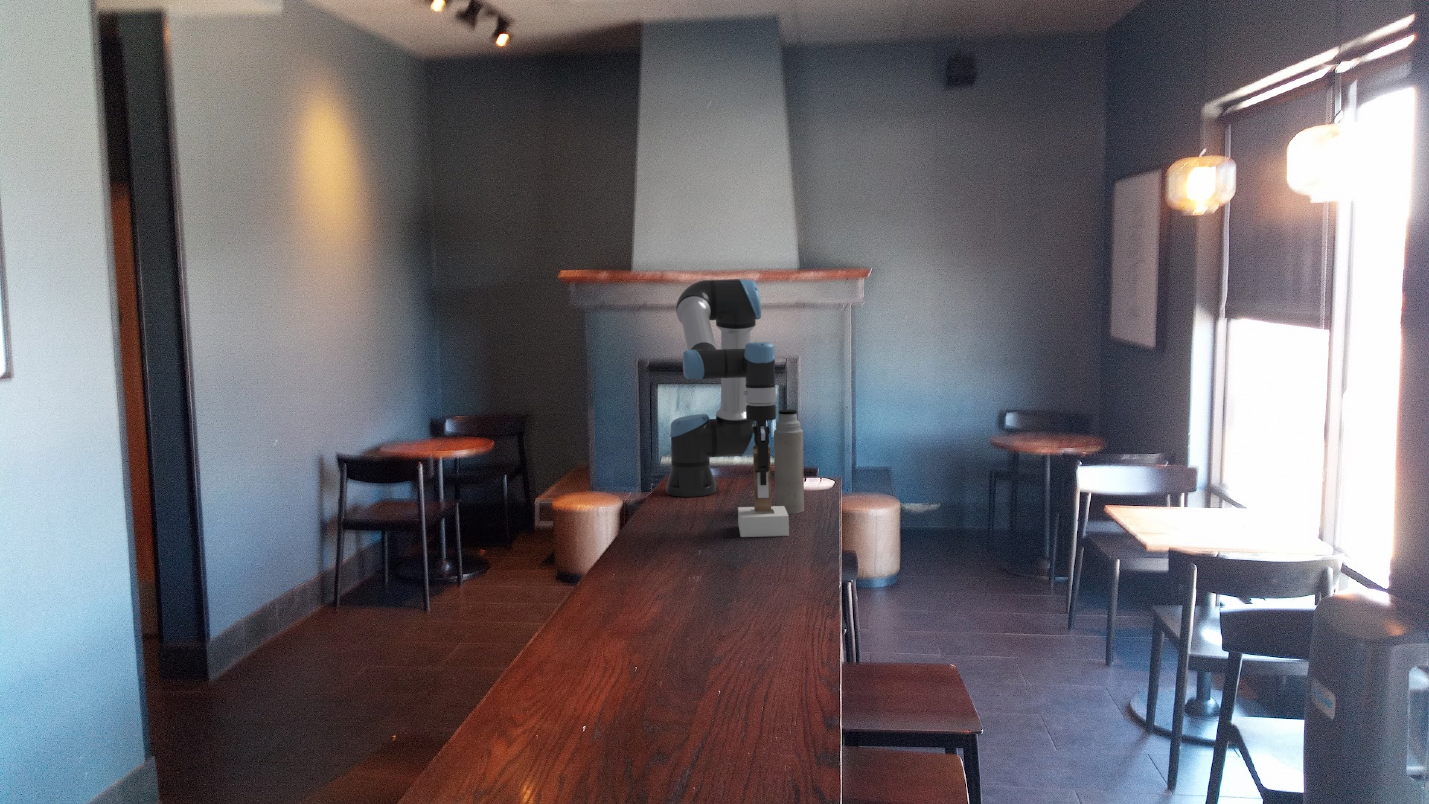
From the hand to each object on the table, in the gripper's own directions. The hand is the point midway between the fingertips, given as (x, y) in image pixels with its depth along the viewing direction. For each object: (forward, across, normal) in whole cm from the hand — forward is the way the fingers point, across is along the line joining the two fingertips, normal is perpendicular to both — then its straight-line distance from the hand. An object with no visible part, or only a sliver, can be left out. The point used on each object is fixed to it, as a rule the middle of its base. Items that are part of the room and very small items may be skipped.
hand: (762, 495), depth 268 cm
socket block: (+9, 0, 0) cm, 9 cm away
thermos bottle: (+9, -23, +9) cm, 26 cm away
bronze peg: (+4, 0, 0) cm, 4 cm away
